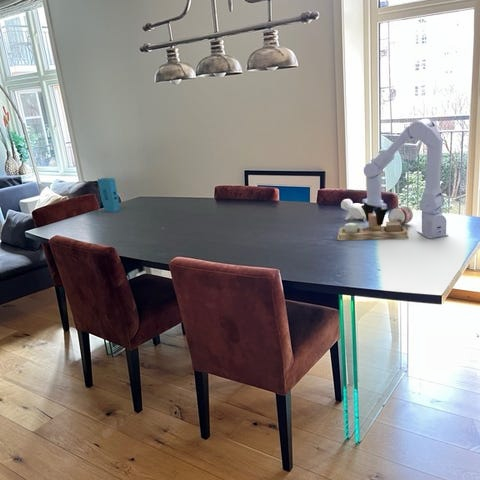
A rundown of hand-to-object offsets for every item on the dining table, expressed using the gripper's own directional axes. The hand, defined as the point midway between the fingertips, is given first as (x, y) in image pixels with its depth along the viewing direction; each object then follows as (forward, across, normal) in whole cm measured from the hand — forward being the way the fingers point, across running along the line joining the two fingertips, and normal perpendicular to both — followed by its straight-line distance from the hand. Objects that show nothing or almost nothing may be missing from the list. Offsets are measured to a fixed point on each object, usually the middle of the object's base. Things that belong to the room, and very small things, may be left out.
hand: (374, 222), depth 199 cm
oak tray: (+2, -8, +7) cm, 11 cm away
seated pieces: (+2, -8, +7) cm, 11 cm away
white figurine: (+2, +18, -2) cm, 18 cm away
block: (+2, +133, +100) cm, 166 cm away
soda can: (-1, -2, -14) cm, 14 cm away
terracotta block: (+1, 0, 0) cm, 1 cm away
